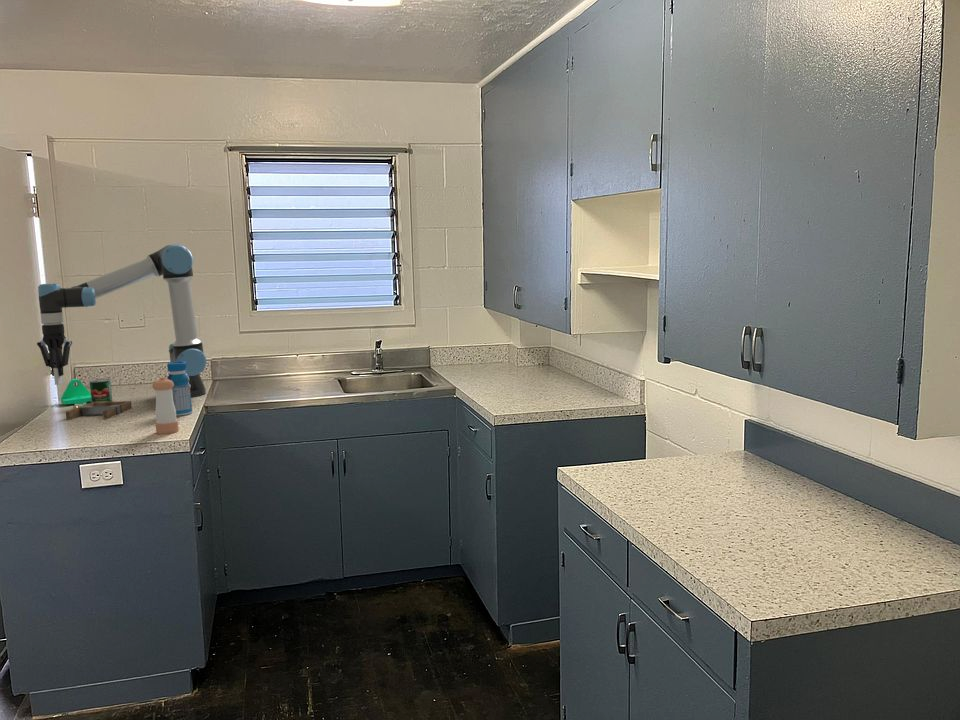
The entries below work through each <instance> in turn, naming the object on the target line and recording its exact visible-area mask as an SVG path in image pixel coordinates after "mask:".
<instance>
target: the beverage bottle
mask: <svg viewBox="0 0 960 720" xmlns="http://www.w3.org/2000/svg"><path fill="white" fill-rule="evenodd" d="M166 367H167V372H168V376H167V377H166V379H169V380H172V381H173V383H174V387H173V388H172V394H173V402H174V406H175V409H176V417H177V416H178V417H180V416H187V415H190V414H192V413H193V407H192V397H191V393H190V388H191V386H190V383H189V380H190V379H189V376H188V375H187V373H186V372H185V371H186V369H187V368H186V362H182V361H180V362H168V363H167V365H166Z"/></svg>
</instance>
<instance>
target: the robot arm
mask: <svg viewBox="0 0 960 720" xmlns="http://www.w3.org/2000/svg"><path fill="white" fill-rule="evenodd" d="M193 264H194V257H193V255H192V253H191V251H190V249H188V247H185V246H183V245H182V244H169V245H166V246H164V247H162V248H161V249H158V250H157V251H155V252H153V253H150V254H148V255H147V256H146V258H144V259H142V260H140V261H136V262H135V263H131V264H129V265H127V266H124V267H120V268H119V269H116V270H114V271H111V272H108V273H106V274H104V275H101V276H98V277H96V278H93V279H90V280H88V281H86V282H83V283H80V284H78V285H74V286H71V287H69V288H68V287H66V288H63V287H62V288H61V286H60V284H59V283H41V284H39V285H38V287H37V291H38V292H37V294H38V302H39V304H38V305H39V311H40V313H39V315H40V322H41V324H42V325H41V331H42V335H43V336H42V340H41V341H39V342H38V341H37V342H36V344H37V345H36V346H38V347H39V350H40V353H41V354H42V355H41V356H42V358H43V361H44V364H45V366H46V367H49V368H50V369H51V376H52V377H53V379H54V385H56V386H59V385H63V383H64V382H63V376H64V374H65V373H64V367H65V366H68V365H69V358H70V350H71V346H72V344H73V341H72V340H68V339H67V337H66V336H65V325H64V317H63V315H64V314H63V308H65V309H66V308H85V307H86V308H87V307H94V306H95V305H96V304H97V302H96V301H97V300H96V299H98V298H101V297H103V296H106V295H108V294H111V293H114V292H116V291H120V290H121V289H123V288H126V287H129V286H132V285H133V284H137V283H139V282H141V281H144V280H146V279H149V278H152V277H157V278H158V277H160V276H162V278H163V279H162V280H164V281H165V282H166V283H167V286H168V291H169V293H168V294H169V299H170V300H169V301H170V306H171V307H170V308H171V314H172V322H173V328H174V329H173V330H174V337H175V342H174V343H170V344H169V346H168V353H169V361H170V362H180V361H182V362H186V368H187V369H186V371H185V372H186V373H187V375H188V376H189V379H190V380H189V383H190V386H191V388H190V393H191V398H193V397H198V396H199V397H200V396H202V395H205V394H207V391H206V389H207V388H206V386H205V384H204V382H203V380H202V377H201V373H202V372H203V371H204V370H205V369H206V366H207V356H206V355H205V353H204V346H203V341H202V340H201V339H200V338H199V336H198V332H197V331H198V329H197V324H196V316H195V310H194V309H195V307H194V300H193V292H192V284H191V280H192V279H193V277H194V271H193ZM63 345H64V346H63ZM170 362H169V363H170Z"/></svg>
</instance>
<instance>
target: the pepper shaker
mask: <svg viewBox="0 0 960 720" xmlns="http://www.w3.org/2000/svg"><path fill="white" fill-rule="evenodd" d="M151 387H152V389H153V390H154V393H155V414H154V415H155V420H156V422H155V433H156V434H158V435H168V434H174V433H177V432H179V430H180V428H179V421H178V420H177V416H176V409H175V406H174V402H173V394H172V388H173V387H174V383H173V381H172V380H169V379H167V378H165V377H160V379H157V380H155V381H153V383H152V385H151Z"/></svg>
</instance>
